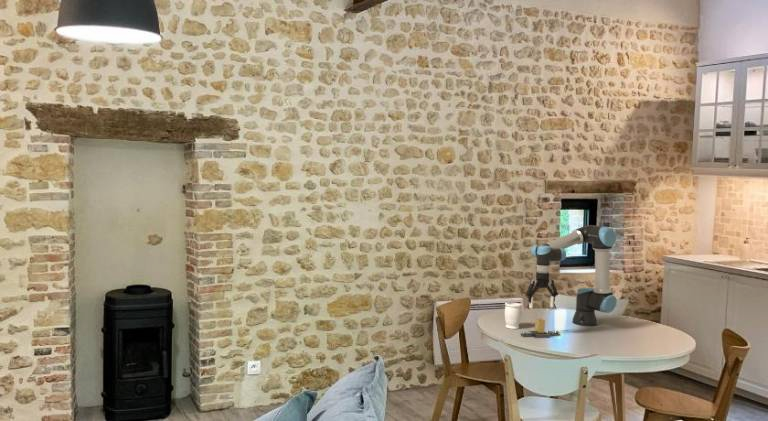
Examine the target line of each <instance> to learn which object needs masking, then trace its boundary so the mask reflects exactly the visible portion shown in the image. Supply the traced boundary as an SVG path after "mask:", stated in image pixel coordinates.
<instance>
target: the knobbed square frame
mask: <svg viewBox="0 0 768 421" xmlns="http://www.w3.org/2000/svg"><path fill="white" fill-rule="evenodd" d="M520 335H521V336H520V337H522V336H523V337H522V338H535V339H549V338H551V337H560V332H559V331H558V330H548V331H547V332H546V331H544V334H536V333H535V330H528V331H521V333H520Z"/></svg>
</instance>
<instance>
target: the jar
mask: <svg viewBox="0 0 768 421" xmlns="http://www.w3.org/2000/svg"><path fill="white" fill-rule="evenodd" d="M504 305H505V307H504V320H505V328H507V329H511V330H517V329H520V323H521V320H522V314H523V313H522V307H523V304H522V303H521V302H515V301H507V302H505V303H504Z"/></svg>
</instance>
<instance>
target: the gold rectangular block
mask: <svg viewBox="0 0 768 421" xmlns="http://www.w3.org/2000/svg"><path fill="white" fill-rule="evenodd" d="M545 324H546V320H545V319H543V318H535V323H534V325H535V326H534V331H535V333H536V334H544V332H545V326H546V325H545Z"/></svg>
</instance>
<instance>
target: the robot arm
mask: <svg viewBox="0 0 768 421" xmlns="http://www.w3.org/2000/svg"><path fill="white" fill-rule="evenodd" d="M616 241H617V235H616V232H615V230H613V228H611V227H608V226H603V225H602V226H601V225H593V224H589V225H585V226H580V227H579V228H575V229H574V230H572V232H571V233H568V234H566V235H563V236H561V237H558V238H555V239H553V240H551V241H548V242H545V243H543V244H535V245H533V246H532V247H531V250H530V252H531V255H532V256H533V257H535V258H536V272H535V274H536V275H535V280H533V279H531V280H530V285H529V287H528V288H527V290H526V292H525V296H527V297H528V298H527V299H528V300H527V302H528V303H529V305H528V308H529V309H533V308H534V307H533V306H534V297H533V296H534V295H535V294H536V293H537V291H538V290H539V289H543V288H544V289H545V288H546V290H547V291H548V293H549V294H550V297H549V299H550V300H549V308H554V302H556V297H557V296H559V293H558V290H557V288H556V286H555V281H554V280H553V279H550V269H551V267H550V264H551V262H561V261H564V260H565V259H566V258H567V251H566V250H565V249H568V248H570V247H572V246H574V245H575V246H576V245H582V244H591V246H592V249H593V250H594V263H595V264H594V271H595V272H594V276H595V283H594V284H595V287H580V288H578V289H577V291H576V299H575V300H576V303H575V305H576V306H575V312H574V315H573V317H572V323H573V324H576V325H578V326H586V327H594V326H597V324H598V320H597V316H596V313H595V311H597V312H601V313H604V314H605V313H606V314H610V313H611V312H613V311H614V309H615V308H616V306H617V297H616V296H615V295H614V294H613V289H612V288H611V286H610V285H611V284H610V283H611V280H610V279H611V278H610V277H611V276H610V275H611V274H610V272H611V268H610V265H611V264H610V263H611V262H610V260H611V259H610V256H611V255H610V251H611V250H612V249H613V246H614V245H615V243H616ZM549 284H550V285H549Z"/></svg>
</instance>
